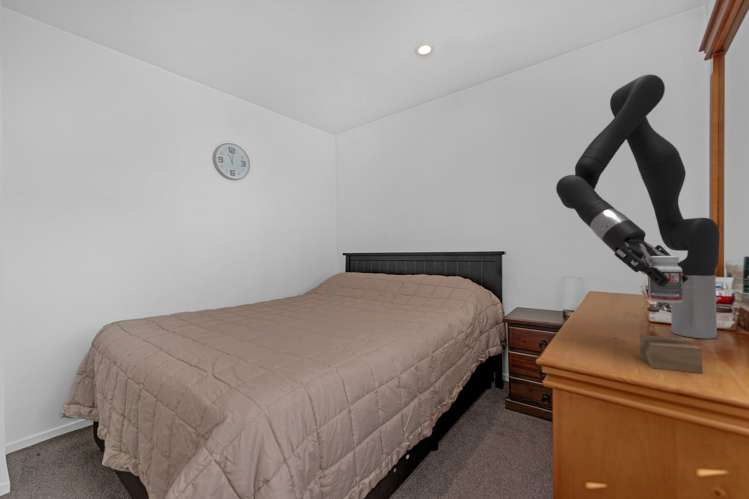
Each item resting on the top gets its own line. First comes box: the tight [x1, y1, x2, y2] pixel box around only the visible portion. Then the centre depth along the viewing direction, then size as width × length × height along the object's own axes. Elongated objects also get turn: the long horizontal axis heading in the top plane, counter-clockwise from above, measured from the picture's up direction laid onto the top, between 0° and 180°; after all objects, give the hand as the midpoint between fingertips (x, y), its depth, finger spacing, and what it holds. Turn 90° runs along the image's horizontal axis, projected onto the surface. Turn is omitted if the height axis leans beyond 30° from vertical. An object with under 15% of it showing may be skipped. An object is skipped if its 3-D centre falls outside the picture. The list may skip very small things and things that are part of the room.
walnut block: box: [639, 334, 703, 374], centre depth 71 cm, size 8×8×5 cm
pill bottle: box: [647, 255, 683, 304], centre depth 71 cm, size 6×6×10 cm
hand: (674, 282), depth 70 cm, fingers closed on pill bottle, 5 cm apart
